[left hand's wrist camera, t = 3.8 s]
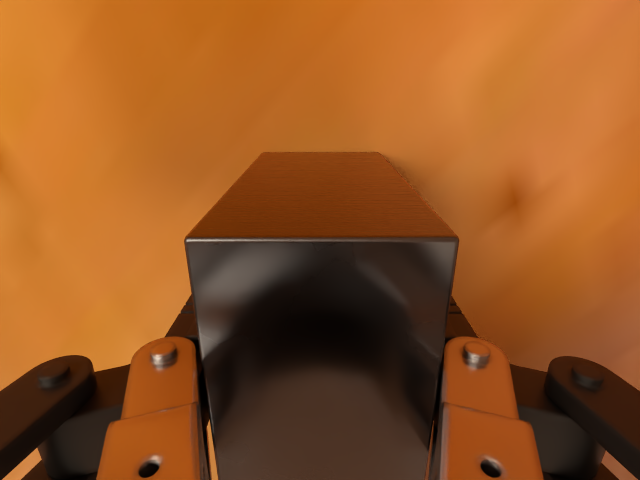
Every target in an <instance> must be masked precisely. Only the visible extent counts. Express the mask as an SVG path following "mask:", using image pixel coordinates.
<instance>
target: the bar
mask: <svg viewBox="0 0 640 480" xmlns="http://www.w3.org/2000/svg"><path fill="white" fill-rule="evenodd" d="M184 243H185V250H186V257H187V264H188V271H189V278H190V285H191V292H192V299H193V306H194V313H195V320H196V327H197V334H198V341H199V348H200V355H201V362H202V369H203V376H204V383H205V390H206V397H207V404H208V411H209V418H210V425H211V432H212V439H213V445H214V452H215V459H216V466H217V473H218V480H425V474H426V467H427V460H428V453H429V446H430V439H431V432H432V425H433V419H434V412H435V405H436V398H437V391H438V384H439V377H440V370H441V363H442V356H443V349H444V342H445V335H446V328H447V321H448V314H449V308H450V301H451V294H452V287H453V280H454V273H455V266H456V259H457V252H458V245H459V238H458V236H457V235H456V234H455V233H454V232H453V231H452V230H451V229H450V228H449V227H448V226H447V225H446V223H445V222H444V221H443V220H442V219H441V218H440V217H439V216H438V215H437V214H436V213H435V212H434V211H433V210H432V209H431V207H430V206H429V205H428V204H427V203H426V202H425V201H424V200H423V199H422V198H421V197H420V196H419V195H418V194H417V193H416V191H415V190H414V189H413V188H412V187H411V186H410V185H409V184H408V183H407V182H406V181H405V180H404V179H403V178H402V177H401V176H400V174H399V173H398V172H397V171H396V170H395V169H394V168H393V167H392V166H391V165H390V164H389V163H388V162H387V161H386V160H385V158H384V157H383V156H382V155H381V154H380V153H378V152H264V153H262V154H261V155H260V156H259V157H258V158H257V159H256V160H255V161H254V162H253V164H252V165H251V166H250V167H249V168H248V169H247V170H246V171H245V172H244V173H243V174H242V176H241V177H240V178H239V179H238V180H237V181H236V182H235V183H234V184H233V185H232V187H231V188H230V189H229V190H228V191H227V192H226V193H225V194H224V195H223V196H222V197H221V199H220V200H219V201H218V202H217V203H216V204H215V205H214V206H213V207H212V208H211V210H210V211H209V212H208V213H207V214H206V215H205V216H204V217H203V218H202V219H201V220H200V222H199V223H198V224H197V225H196V226H195V227H194V228H193V229H192V230H191V231H190V233H189V234H188V235H187V236H186V237H185V240H184Z"/></svg>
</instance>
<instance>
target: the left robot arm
mask: <svg viewBox="0 0 640 480" xmlns="http://www.w3.org/2000/svg"><path fill="white" fill-rule="evenodd" d="M209 419H210V418H209V411H208V404H207V397H206V390H205V383H204V376H203V369H202V362H201V355H200V348H199V341H198V334H197V327H196V320H195V313H194V306H193V299H192V294H191V296H190V297H189V299H188V301H187V302H186V305H184V307H183V309H182V310H181V314H179V315H178V317H177V318H176V320H175V321H174V323H173V325H172V326H171V328H170V329H169V331H168V333H167V334H166V336H165V337H164V338H160V339H157V340H154V341H152V342H150V343H148V344H146V345H144V346H143V347H141V348H140V349H139V350H138V351H137V352H136V353H135V354H134V356H133V357H132V360H131V364H129V365H125V366H121V367H116V368H111V369H107V370H102V371H97V372H94V369H93V365H92V362H91V360H90V359H88V358H87V357H84V356H79V355H70V356H63V357H59V358H55V359H52V360H49V361H47V362H44V363H42V364H40V365H38V366H36V367H35V368H33V369H31V370H30V371H28V372H27V373H26V374H24V375H23V376H21V377H20V378H19V379H17V380H16V381H14V382H13V383H11V384H10V385H9V386H7V387H6V388H4V389H3V390H2V391H0V480H2V479H3V478H4V477H5V476H6V475H7V474H8V473H10V472H11V471H12V470H13V469H14V468H15V467H16V466H17V465H18V464H19V463H20V462H22V461H23V460H24V459H25V458H26V457H27V456H28V455H29V454H30V453H31V452H33V451H34V450H35V449H36V448H38V451H39V453H40V456H41V459H42V460H41V461H40V462H39V463H38V464H37V465H36V466H35V467H34V468H33V469H32V470H31V471H30V472H28V473H27V474H26V475H25V476H24V477H23V478H22V479H21V480H212V478H211V465H210V453H209V440H208V431H207V425H208V422H209ZM433 420H434V424H433V431H432V440H431V453H430V465H429V477H428V480H619V479H618V478H617V477H616V476H615V475H614V474H613V473H612V472H610V471H609V470H608V469H607V468H606V467H605V466H604V465H603V464H602V463H601V461H602V459H603V456H604V453H605V451H607V452H609V453H610V454H611V455H612V456H613V457H614V458H615V459H616V460H617V461H618V462H620V463H621V464H622V465H623V466H624V467H625V468H626V469H627V470H628V471H629V472H630V473H632V474H633V475H634V476H635V477H636V478H637V479H638V480H640V391H638V390H637V389H636V388H634V387H633V386H631V385H630V384H629V383H627V382H626V381H624V380H623V379H621V378H620V377H619V376H617V375H616V374H614V373H613V372H611V371H610V370H608V369H607V368H605V367H603V366H601V365H599V364H597V363H595V362H592V361H589V360H586V359H583V358H578V357H571V356H563V357H558V358H555V359H553V360H552V361H551V362H550V364H549V367H548V371H547V372H543V371H538V370H534V369H529V368H524V367H520V366H516V365H513V364H510V363H509V360H508V357H507V356H506V354H505V353H504V352H503V351H502V350H501V349H500V348H499V347H497V346H496V345H494V344H492V343H490V342H488V341H486V340H483V339H480V338H478V337H477V335H476V334H475V332H474V331H473V329H472V327H471V326H470V324H469V323H468V321H467V320H466V318H465V316H464V315H463V314H462V312H461V310H460V308H459V307H458V306H457V305H456V302H455V301H454V299H453V297H452V296H451V301H450V308H449V314H448V321H447V328H446V335H445V342H444V349H443V356H442V363H441V370H440V377H439V384H438V391H437V398H436V405H435V412H434V419H433Z"/></svg>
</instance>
